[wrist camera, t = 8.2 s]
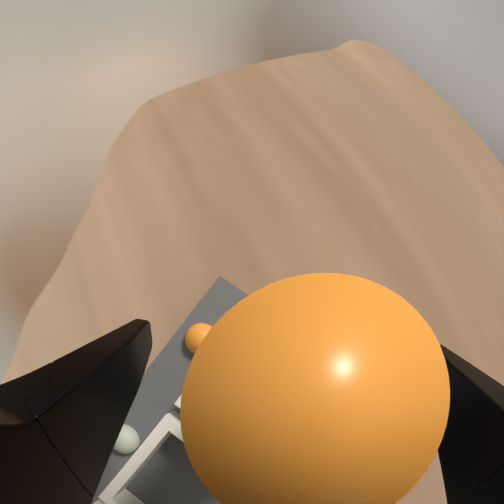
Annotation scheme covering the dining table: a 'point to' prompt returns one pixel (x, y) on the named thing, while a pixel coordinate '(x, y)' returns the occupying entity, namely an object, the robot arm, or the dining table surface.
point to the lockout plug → (315, 395)
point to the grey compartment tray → (163, 420)
